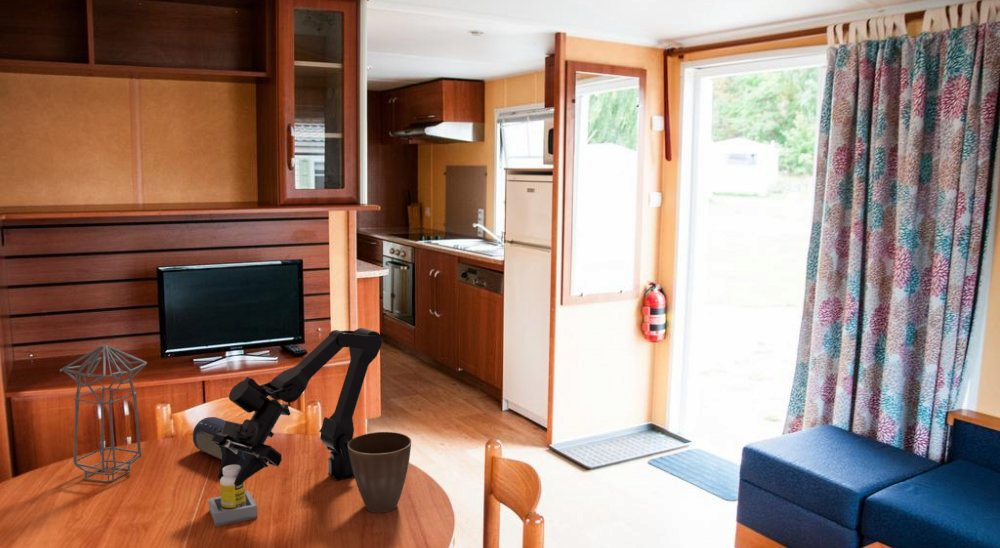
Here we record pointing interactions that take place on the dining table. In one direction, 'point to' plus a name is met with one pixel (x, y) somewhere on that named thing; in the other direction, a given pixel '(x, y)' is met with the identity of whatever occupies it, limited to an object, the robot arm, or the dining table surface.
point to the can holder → (232, 511)
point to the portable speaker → (211, 437)
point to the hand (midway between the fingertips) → (227, 482)
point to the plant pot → (380, 468)
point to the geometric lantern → (95, 358)
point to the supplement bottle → (231, 488)
